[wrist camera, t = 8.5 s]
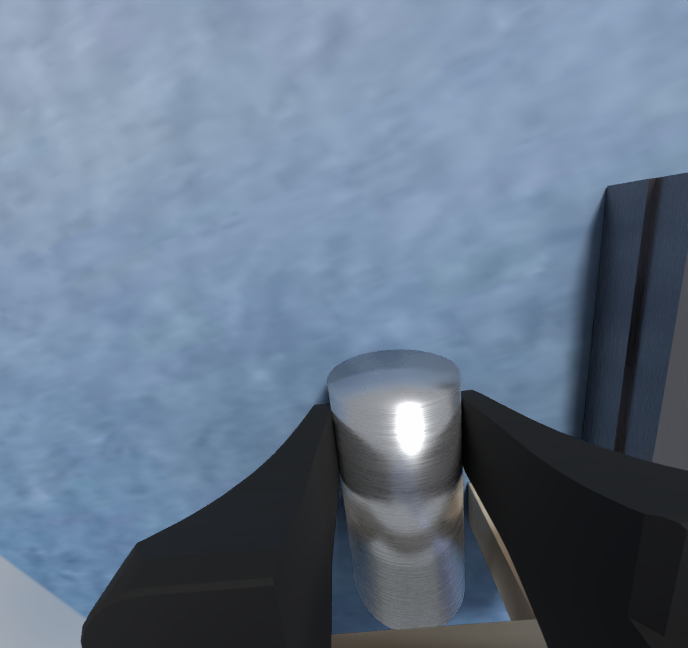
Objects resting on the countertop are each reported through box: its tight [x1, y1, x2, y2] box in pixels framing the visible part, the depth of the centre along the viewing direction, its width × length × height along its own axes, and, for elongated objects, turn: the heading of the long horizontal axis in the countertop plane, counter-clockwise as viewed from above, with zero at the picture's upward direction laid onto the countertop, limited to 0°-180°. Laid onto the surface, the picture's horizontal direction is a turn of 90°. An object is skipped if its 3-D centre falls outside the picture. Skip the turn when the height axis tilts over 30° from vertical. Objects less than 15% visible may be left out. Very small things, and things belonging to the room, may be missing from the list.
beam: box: [331, 483, 548, 648], centre depth 11 cm, size 2×12×6 cm, turn 96°
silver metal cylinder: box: [327, 350, 465, 630], centre depth 11 cm, size 8×4×4 cm, turn 6°
